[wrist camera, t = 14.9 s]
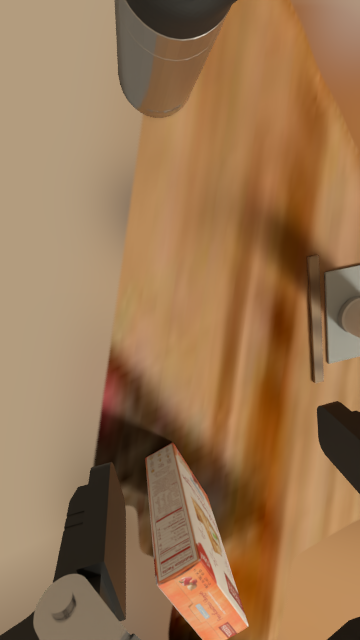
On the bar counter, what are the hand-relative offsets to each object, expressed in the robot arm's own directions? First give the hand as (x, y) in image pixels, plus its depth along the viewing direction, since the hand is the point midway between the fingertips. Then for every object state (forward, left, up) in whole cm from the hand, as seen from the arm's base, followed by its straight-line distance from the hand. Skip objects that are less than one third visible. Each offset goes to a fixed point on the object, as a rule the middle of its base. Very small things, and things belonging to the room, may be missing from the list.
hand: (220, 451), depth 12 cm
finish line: (+11, +25, -36) cm, 45 cm away
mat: (+11, +32, -36) cm, 50 cm away
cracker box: (+34, -2, -36) cm, 50 cm away
